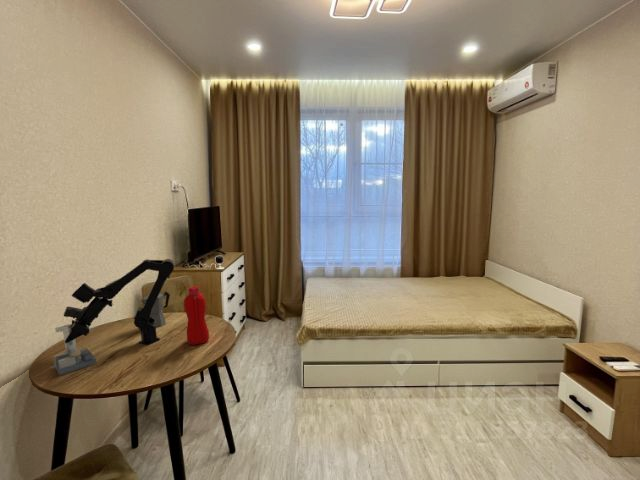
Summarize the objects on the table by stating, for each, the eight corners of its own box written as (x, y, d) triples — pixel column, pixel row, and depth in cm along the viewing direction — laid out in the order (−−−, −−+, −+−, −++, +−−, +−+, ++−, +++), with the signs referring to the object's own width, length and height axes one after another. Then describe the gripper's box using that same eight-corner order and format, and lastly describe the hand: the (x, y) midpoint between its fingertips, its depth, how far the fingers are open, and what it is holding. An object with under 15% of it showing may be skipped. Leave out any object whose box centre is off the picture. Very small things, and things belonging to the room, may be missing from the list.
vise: (89, 356, 145) (88, 344, 144) (96, 363, 138) (95, 351, 137) (54, 367, 136) (52, 355, 136) (59, 375, 129) (57, 363, 129)
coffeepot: (149, 330, 171) (145, 295, 168) (138, 327, 176) (135, 292, 173) (177, 320, 183) (174, 287, 181) (166, 317, 188) (163, 285, 186)
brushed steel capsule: (77, 350, 148) (73, 323, 146) (76, 353, 145) (72, 325, 143) (59, 354, 144) (55, 326, 143) (59, 357, 141) (55, 329, 140)
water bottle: (188, 348, 148) (182, 292, 145) (186, 339, 158) (182, 286, 155) (210, 344, 152) (206, 289, 149) (208, 335, 162) (203, 283, 159)
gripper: (76, 294, 152) (48, 324, 147) (75, 304, 137) (44, 338, 132) (99, 307, 157) (73, 337, 153) (101, 319, 142) (72, 352, 137)
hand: (65, 340), depth 144 cm, fingers closed on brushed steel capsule, 4 cm apart
